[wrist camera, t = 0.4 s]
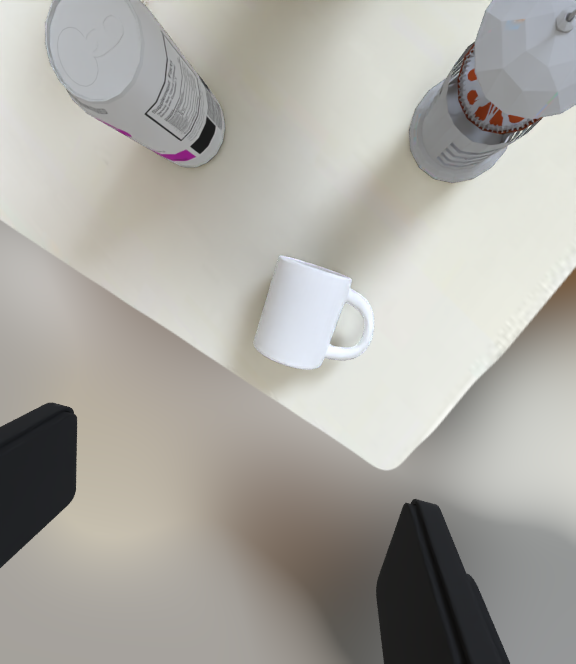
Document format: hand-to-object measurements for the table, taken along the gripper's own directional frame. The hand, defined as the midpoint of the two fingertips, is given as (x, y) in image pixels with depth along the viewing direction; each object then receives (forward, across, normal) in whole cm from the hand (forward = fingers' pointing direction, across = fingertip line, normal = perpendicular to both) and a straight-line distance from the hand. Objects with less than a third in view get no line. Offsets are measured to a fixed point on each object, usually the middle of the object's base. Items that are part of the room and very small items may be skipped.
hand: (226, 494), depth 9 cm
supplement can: (+31, +17, -17) cm, 39 cm away
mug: (+31, -1, 0) cm, 31 cm away
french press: (+31, -12, -21) cm, 39 cm away
